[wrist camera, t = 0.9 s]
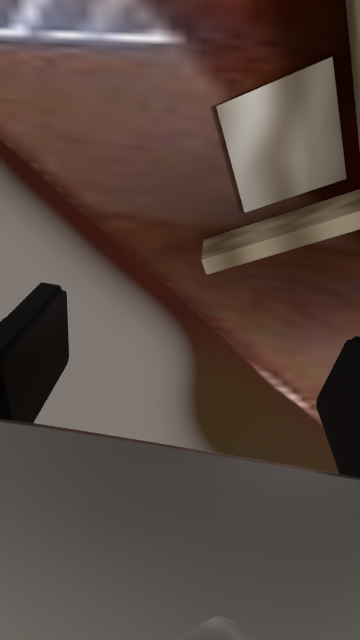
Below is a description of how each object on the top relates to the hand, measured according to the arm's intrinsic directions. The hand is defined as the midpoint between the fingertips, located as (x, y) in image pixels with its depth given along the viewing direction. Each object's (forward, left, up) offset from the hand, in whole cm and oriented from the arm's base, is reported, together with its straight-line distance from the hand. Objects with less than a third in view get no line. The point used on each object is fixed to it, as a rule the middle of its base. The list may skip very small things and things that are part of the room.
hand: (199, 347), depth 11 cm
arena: (-7, -3, -28) cm, 28 cm away
